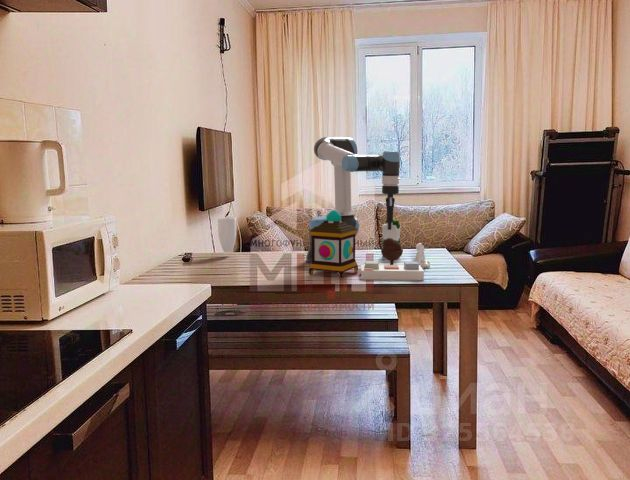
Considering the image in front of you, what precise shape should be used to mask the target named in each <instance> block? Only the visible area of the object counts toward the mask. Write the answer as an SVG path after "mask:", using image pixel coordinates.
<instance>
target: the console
mask: <svg viewBox="0 0 630 480" xmlns="http://www.w3.org/2000/svg"><path fill="white" fill-rule="evenodd" d="M384 265H385V264H379V269H373V268H365V264H360V278H361V280H374V281H375V280H378V281H379V280H383V281H384V280H387V281H388V280H389V281H390V280H391V281H393V280H397V281H399V280H400V281H401V280H402V281H403V280H404V281H406V280H407V281H424V277H425V271H424V268H422V267H421V266H420V265H419V269H404V264H397V265H398V267H399V269H384Z"/></svg>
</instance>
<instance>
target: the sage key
mask: <svg viewBox="0 0 630 480" xmlns="http://www.w3.org/2000/svg"><path fill="white" fill-rule="evenodd" d="M364 265H365V268H373V269H379V265H380V264H379V261H378V260H373V261H372V260H366V261H364Z"/></svg>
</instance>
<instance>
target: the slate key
mask: <svg viewBox="0 0 630 480" xmlns="http://www.w3.org/2000/svg"><path fill="white" fill-rule="evenodd" d="M403 265H404V269H419V263H418V262H414V261H413V260H412V261H411V260H410V261H405V260H404V261H403Z"/></svg>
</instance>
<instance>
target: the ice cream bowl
mask: <svg viewBox="0 0 630 480" xmlns="http://www.w3.org/2000/svg"><path fill="white" fill-rule="evenodd" d="M403 252H404V249H403V248H402V246H401V243H400V244H399V243H398V242H396V241H394V240H393V239H391V238H387V239H386V240H385V241H384V248H383V247H382V248H381V249H380V253H381V255H383V256H384V257H383V258H385V260H388V261H389V265H394V262H395V261H397V260H398V259H400V258H401V257H402V255H403Z"/></svg>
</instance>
